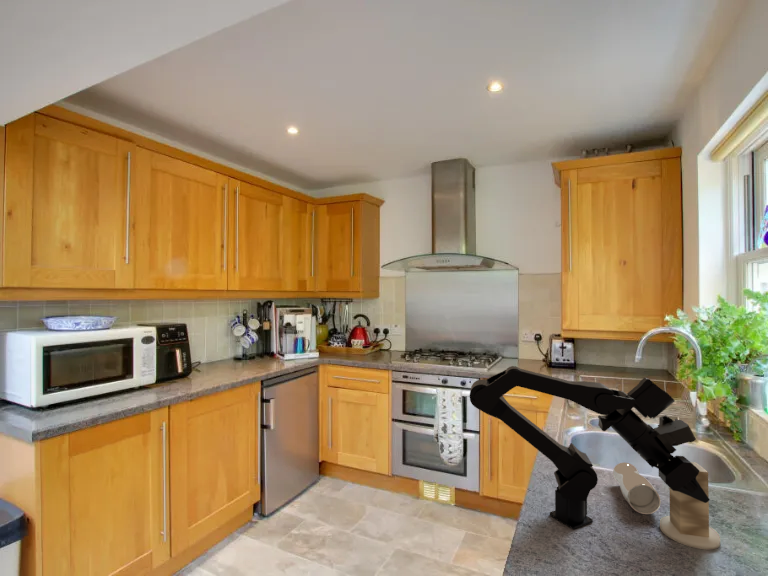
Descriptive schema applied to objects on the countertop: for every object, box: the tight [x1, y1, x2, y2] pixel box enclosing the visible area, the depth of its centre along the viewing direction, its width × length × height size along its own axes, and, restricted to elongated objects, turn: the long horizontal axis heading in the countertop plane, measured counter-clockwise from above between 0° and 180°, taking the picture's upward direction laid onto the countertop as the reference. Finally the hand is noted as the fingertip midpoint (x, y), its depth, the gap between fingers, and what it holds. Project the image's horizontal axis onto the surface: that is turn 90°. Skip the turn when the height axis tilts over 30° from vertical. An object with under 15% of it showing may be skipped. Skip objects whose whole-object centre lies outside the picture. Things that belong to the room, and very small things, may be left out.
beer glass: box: [612, 462, 662, 516], centre depth 99 cm, size 7×7×15 cm
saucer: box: [659, 515, 721, 551], centre depth 84 cm, size 10×10×1 cm
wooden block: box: [668, 460, 710, 537], centre depth 84 cm, size 5×5×13 cm
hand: (696, 490), depth 84 cm, fingers open, 9 cm apart
